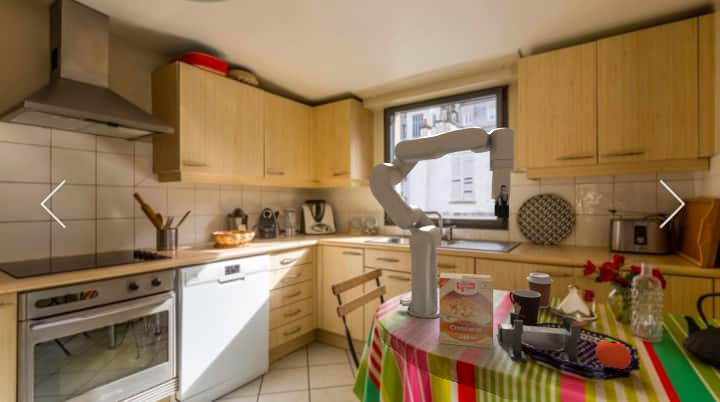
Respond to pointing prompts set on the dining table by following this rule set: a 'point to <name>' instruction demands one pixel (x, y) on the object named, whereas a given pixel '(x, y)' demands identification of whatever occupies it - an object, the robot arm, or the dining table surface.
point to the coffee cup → (541, 287)
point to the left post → (516, 338)
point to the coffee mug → (526, 305)
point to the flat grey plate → (532, 345)
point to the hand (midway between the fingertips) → (501, 216)
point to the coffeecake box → (466, 309)
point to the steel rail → (534, 335)
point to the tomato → (613, 354)
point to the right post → (570, 340)
